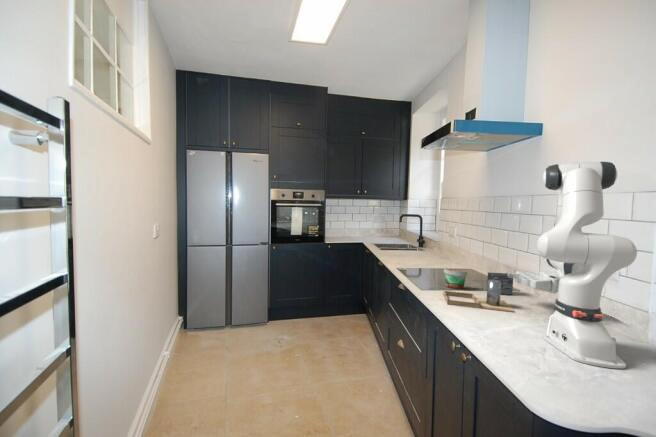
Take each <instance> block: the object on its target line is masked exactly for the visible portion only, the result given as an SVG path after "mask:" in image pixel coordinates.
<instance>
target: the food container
mask: <svg viewBox="0 0 656 437" xmlns="http://www.w3.org/2000/svg"><path fill="white" fill-rule="evenodd" d="M443 273H444V281H445V282H444V283H445V287H446V288H448V289H451V290H455V291H457V290H459V291H460V290H461V291H462V290H464V287H465V281H466V278H467V277H466V276H468V271H467V270H466V271H460V270H456V269H455V270H451V269H450V270H448V269H446V268H444V269H443Z"/></svg>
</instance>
